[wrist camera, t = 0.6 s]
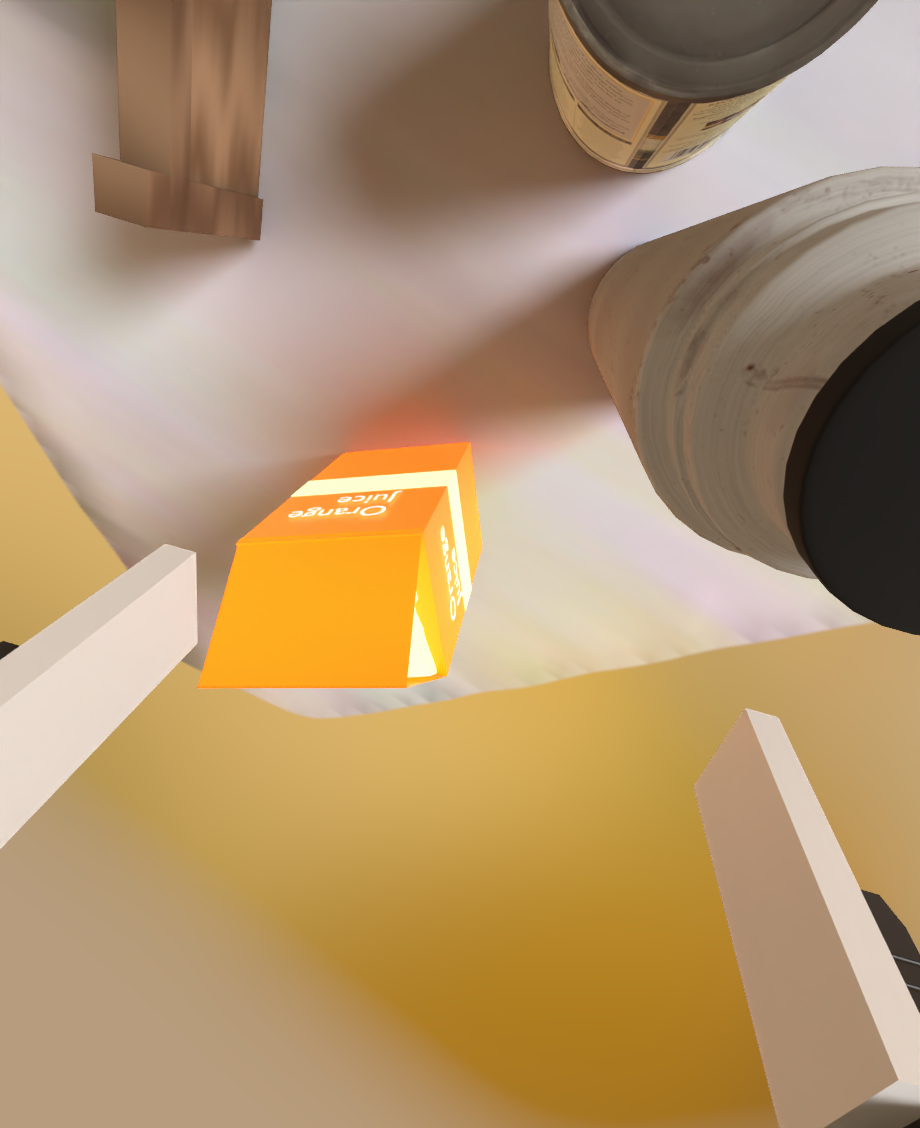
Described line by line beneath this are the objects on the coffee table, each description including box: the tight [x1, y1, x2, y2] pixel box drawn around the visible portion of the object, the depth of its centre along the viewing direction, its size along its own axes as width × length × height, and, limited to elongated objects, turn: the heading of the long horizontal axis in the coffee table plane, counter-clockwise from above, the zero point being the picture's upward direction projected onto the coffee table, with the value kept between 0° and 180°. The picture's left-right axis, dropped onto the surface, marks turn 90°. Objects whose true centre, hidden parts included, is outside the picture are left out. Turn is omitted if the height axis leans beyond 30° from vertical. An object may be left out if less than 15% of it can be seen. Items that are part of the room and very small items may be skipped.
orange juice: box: [198, 442, 482, 688], centre depth 30 cm, size 8×9×20 cm
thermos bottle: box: [587, 167, 920, 635], centre depth 19 cm, size 8×8×28 cm
